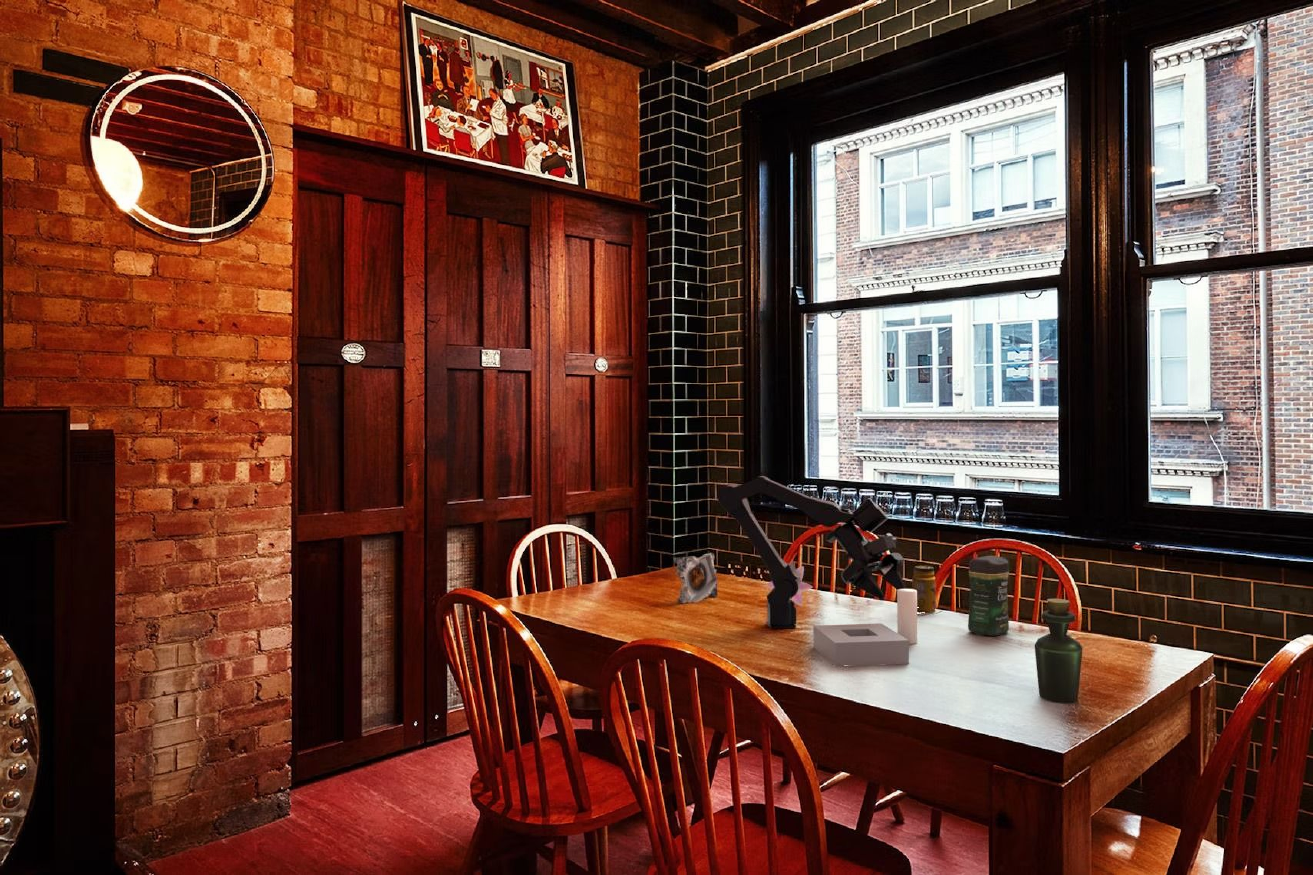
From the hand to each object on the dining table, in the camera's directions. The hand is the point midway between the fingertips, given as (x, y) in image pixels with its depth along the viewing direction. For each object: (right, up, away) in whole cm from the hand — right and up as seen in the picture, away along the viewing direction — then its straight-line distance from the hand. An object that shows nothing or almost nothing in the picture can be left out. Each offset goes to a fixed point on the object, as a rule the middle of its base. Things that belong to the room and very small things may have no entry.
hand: (894, 595), depth 207 cm
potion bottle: (+18, -11, -45) cm, 50 cm away
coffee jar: (+24, -10, +6) cm, 27 cm away
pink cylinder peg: (+2, -10, -3) cm, 11 cm away
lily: (-18, -10, +44) cm, 49 cm away
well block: (-12, -11, -14) cm, 21 cm away
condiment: (+16, -10, +31) cm, 36 cm away
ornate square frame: (-45, -10, +49) cm, 67 cm away
